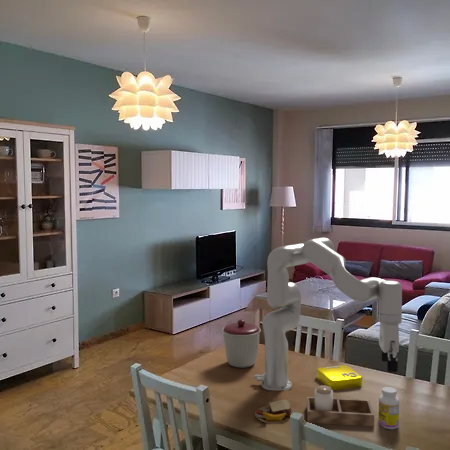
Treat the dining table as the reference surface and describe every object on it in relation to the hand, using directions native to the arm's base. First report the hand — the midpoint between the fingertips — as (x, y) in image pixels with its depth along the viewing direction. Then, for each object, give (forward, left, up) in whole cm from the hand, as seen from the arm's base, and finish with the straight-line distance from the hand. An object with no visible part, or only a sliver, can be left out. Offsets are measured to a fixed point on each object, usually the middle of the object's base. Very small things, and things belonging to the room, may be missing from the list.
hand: (389, 366), depth 166 cm
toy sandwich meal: (-40, +2, -21) cm, 45 cm away
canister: (-56, +51, -21) cm, 79 cm away
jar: (-22, +3, -20) cm, 30 cm away
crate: (-16, +3, -21) cm, 27 cm away
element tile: (-13, +36, -22) cm, 44 cm away
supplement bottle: (0, 0, -21) cm, 21 cm away
